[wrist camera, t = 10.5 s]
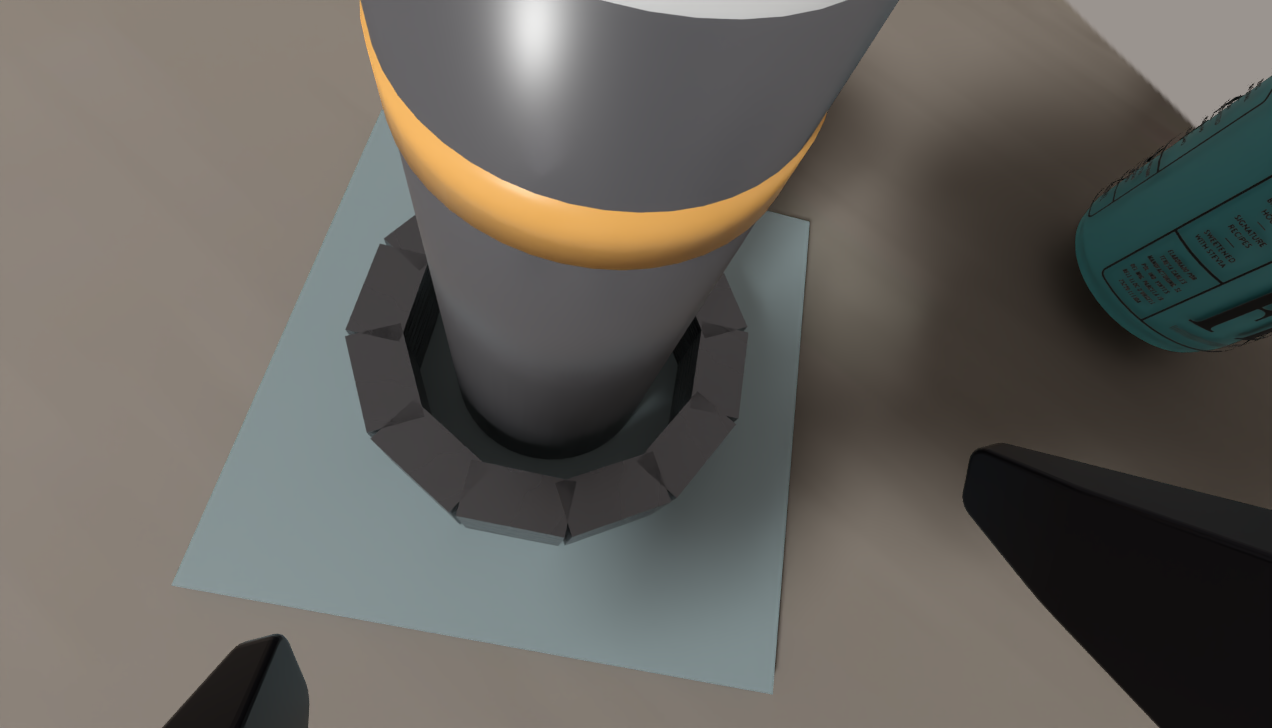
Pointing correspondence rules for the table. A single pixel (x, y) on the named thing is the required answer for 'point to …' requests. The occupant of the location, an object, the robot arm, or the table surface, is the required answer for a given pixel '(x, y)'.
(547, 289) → the gray canister
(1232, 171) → the beverage bottle
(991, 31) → the table surface
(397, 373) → the barrel ring
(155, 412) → the table surface
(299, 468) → the blue-gray square plate
